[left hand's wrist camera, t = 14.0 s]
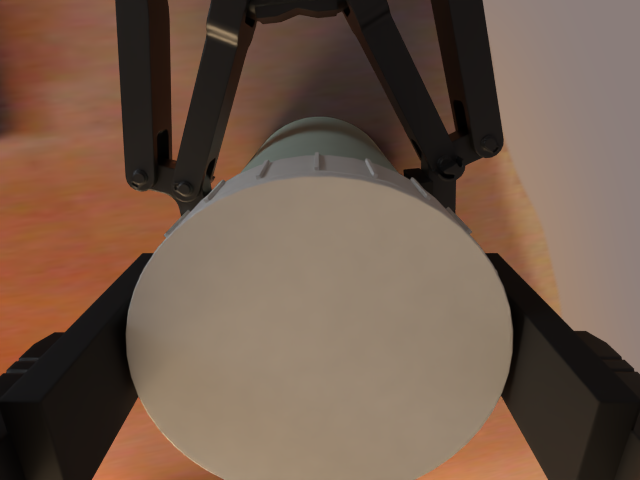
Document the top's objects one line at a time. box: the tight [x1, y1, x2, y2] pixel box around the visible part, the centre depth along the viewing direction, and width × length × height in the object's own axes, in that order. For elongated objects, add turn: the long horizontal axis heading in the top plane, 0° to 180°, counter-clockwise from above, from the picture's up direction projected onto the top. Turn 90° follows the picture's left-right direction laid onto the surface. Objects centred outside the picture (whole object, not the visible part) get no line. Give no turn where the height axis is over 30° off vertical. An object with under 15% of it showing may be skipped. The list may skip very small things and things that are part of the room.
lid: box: [126, 152, 513, 480], centre depth 12 cm, size 9×9×2 cm
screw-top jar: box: [241, 117, 398, 173], centre depth 19 cm, size 8×8×16 cm
